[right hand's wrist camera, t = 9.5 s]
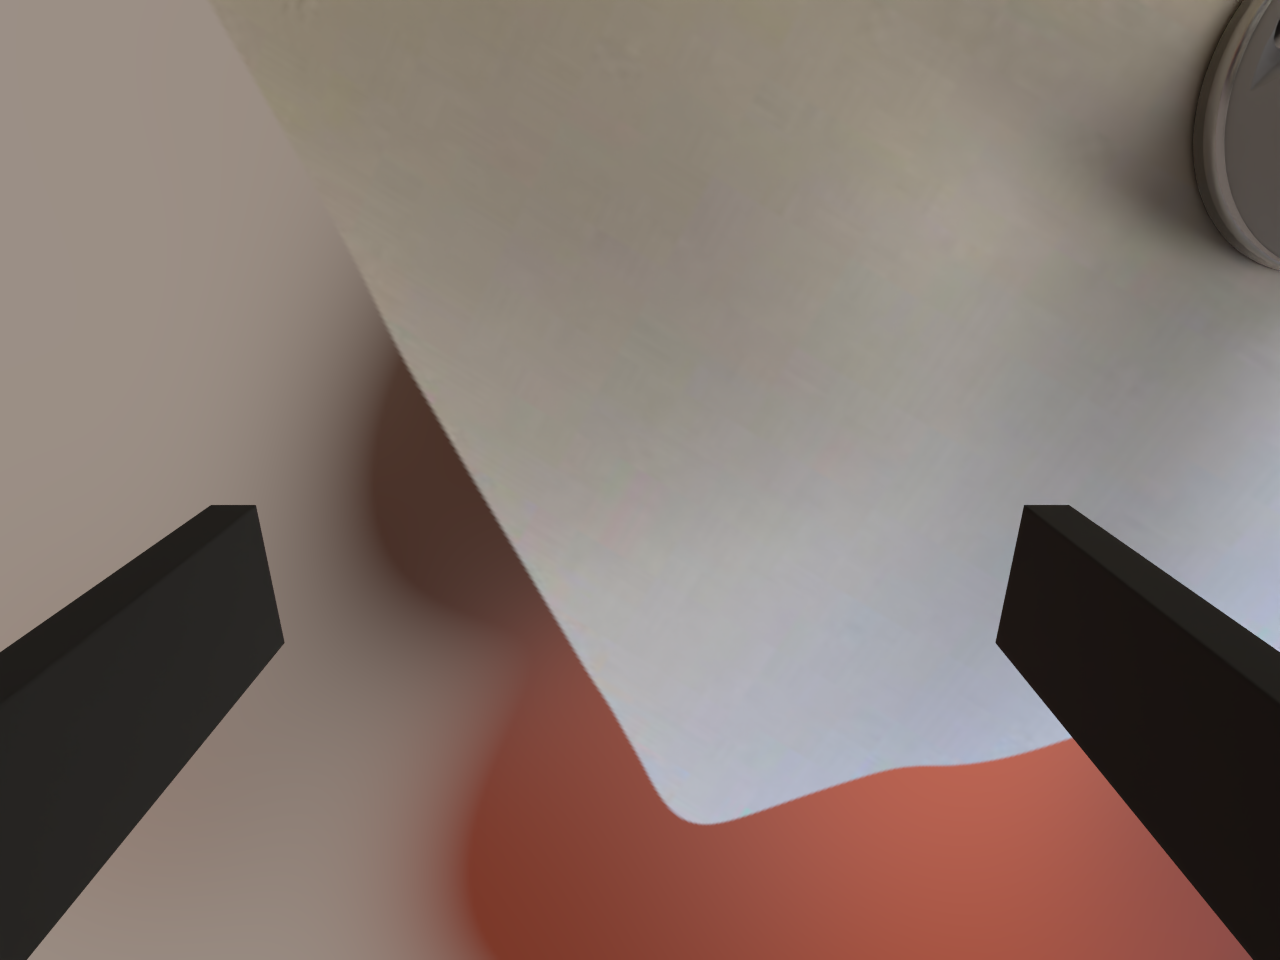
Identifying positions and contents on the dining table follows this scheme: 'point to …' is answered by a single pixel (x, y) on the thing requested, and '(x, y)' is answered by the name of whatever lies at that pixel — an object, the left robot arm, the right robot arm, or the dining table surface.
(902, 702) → the dining table surface
